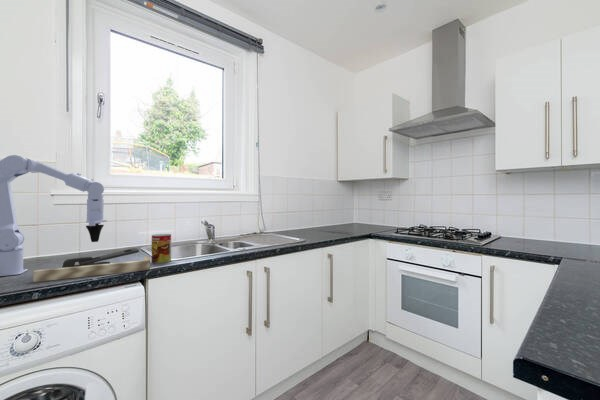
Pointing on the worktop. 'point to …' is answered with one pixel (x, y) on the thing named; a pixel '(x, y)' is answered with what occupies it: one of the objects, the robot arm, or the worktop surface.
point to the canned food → (161, 248)
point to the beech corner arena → (91, 270)
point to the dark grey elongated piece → (97, 258)
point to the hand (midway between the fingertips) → (94, 241)
